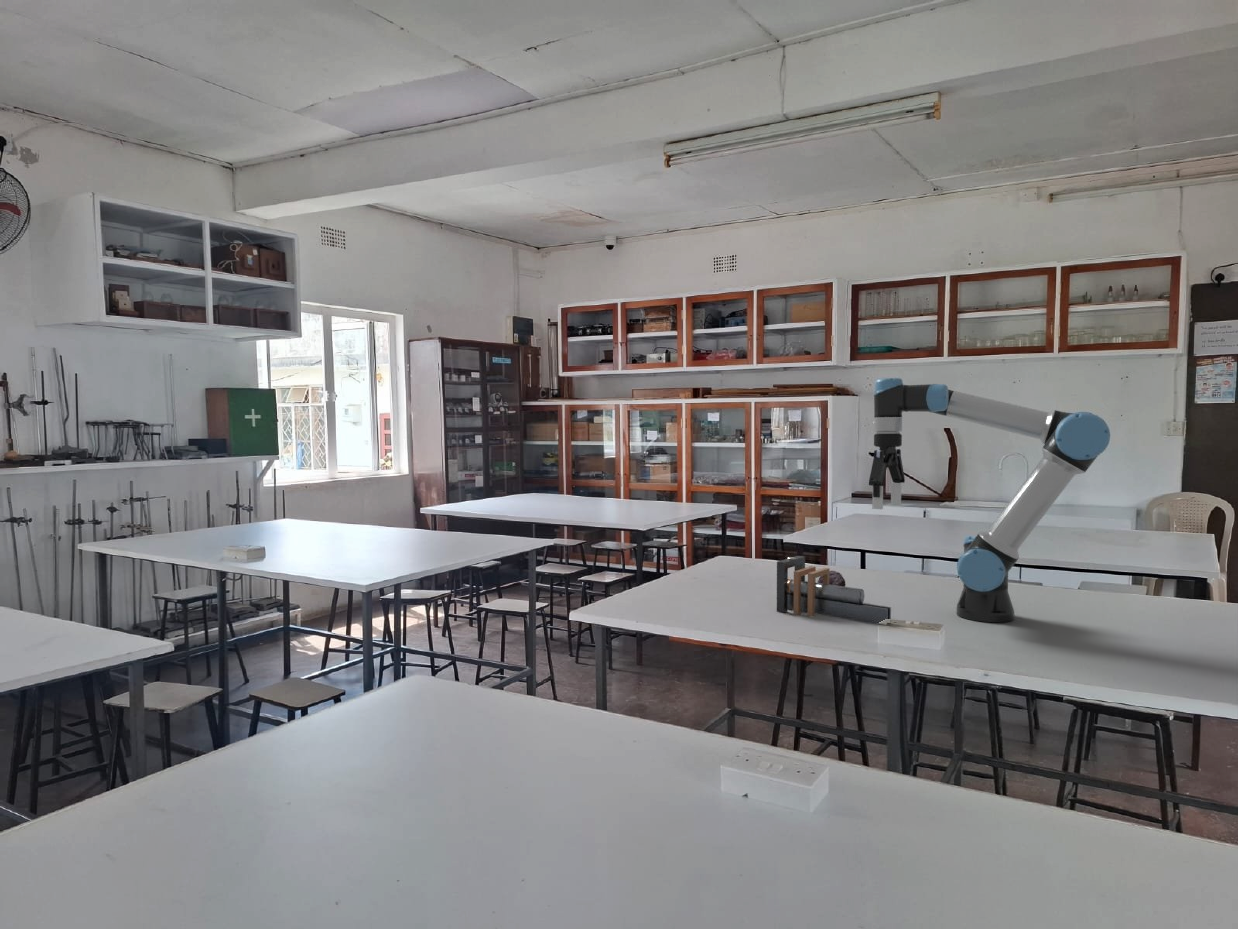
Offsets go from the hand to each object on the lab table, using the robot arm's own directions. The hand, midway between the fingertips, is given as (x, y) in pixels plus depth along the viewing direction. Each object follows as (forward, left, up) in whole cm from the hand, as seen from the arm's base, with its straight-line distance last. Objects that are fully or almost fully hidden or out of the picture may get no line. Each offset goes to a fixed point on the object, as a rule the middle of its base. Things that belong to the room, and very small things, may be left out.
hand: (886, 507), depth 227 cm
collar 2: (+17, +8, -32) cm, 37 cm away
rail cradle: (+12, +8, -32) cm, 35 cm away
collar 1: (+22, +8, -32) cm, 39 cm away
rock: (+22, -10, -32) cm, 40 cm away
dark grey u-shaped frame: (+26, +8, -32) cm, 42 cm away
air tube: (+16, +8, -27) cm, 33 cm away
